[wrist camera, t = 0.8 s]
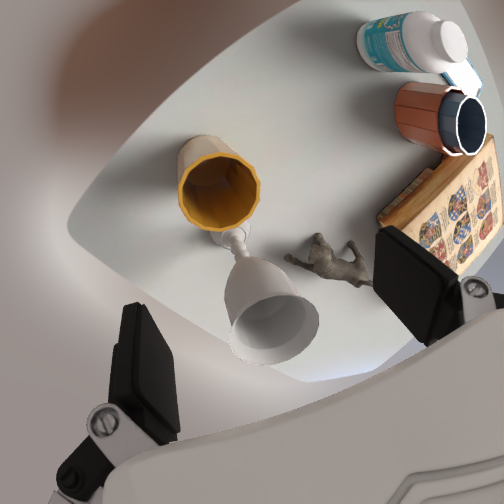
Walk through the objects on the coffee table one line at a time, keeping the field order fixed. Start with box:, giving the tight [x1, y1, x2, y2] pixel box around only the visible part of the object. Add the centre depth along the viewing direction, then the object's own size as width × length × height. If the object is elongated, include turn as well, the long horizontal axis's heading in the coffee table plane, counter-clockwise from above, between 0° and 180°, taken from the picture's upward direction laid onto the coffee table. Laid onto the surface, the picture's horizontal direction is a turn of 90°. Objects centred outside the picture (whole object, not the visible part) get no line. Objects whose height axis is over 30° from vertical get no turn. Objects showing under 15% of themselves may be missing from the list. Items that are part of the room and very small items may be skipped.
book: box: [377, 133, 504, 276], centre depth 42 cm, size 25×6×28 cm
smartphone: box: [442, 57, 483, 98], centre depth 30 cm, size 8×1×15 cm
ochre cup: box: [177, 135, 260, 232], centre depth 26 cm, size 6×6×12 cm
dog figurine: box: [284, 233, 373, 288], centre depth 37 cm, size 12×6×7 cm, turn 64°
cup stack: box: [394, 82, 487, 157], centre depth 29 cm, size 9×9×11 cm
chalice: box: [210, 219, 319, 365], centre depth 28 cm, size 7×7×18 cm
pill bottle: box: [357, 11, 467, 74], centre depth 22 cm, size 8×7×14 cm
